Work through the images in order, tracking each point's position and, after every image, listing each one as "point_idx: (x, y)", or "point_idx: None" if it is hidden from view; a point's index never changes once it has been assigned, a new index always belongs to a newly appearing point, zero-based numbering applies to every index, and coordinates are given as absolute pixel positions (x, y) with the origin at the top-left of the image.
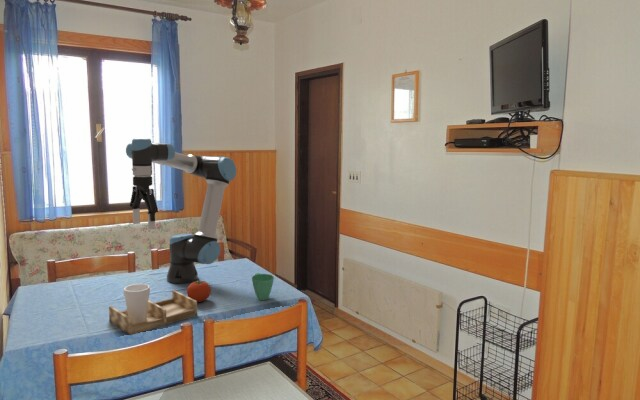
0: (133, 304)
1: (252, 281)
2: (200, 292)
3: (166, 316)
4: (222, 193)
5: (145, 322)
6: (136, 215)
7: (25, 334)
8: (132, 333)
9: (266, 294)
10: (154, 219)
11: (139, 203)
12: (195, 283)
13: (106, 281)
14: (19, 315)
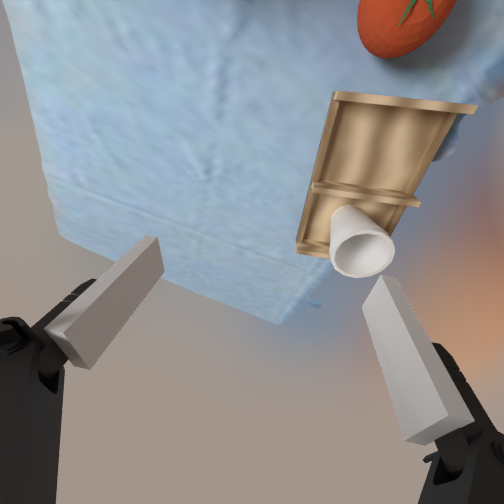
0: (364, 253)
1: None
2: (441, 24)
3: (391, 176)
4: None
5: (370, 218)
6: (124, 302)
7: (251, 305)
8: None
9: None
10: (450, 363)
11: (23, 429)
12: (414, 10)
13: (73, 122)
14: (185, 285)
